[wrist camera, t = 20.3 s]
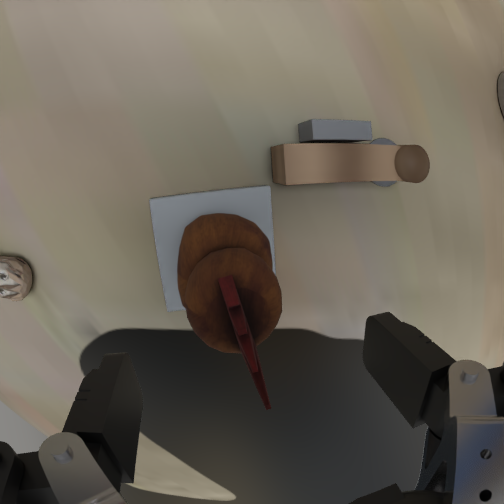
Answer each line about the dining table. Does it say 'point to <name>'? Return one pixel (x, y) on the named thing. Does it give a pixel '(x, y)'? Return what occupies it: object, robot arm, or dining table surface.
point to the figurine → (14, 278)
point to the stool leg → (347, 163)
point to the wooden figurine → (230, 287)
